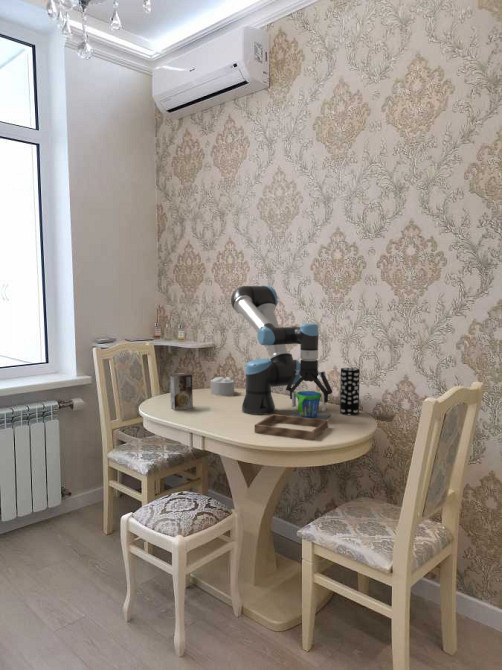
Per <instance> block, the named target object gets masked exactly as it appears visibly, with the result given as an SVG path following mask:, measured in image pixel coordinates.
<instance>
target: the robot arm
mask: <svg viewBox="0 0 502 670" xmlns="http://www.w3.org/2000/svg"><path fill="white" fill-rule="evenodd" d="M278 299H279V298H278V294H277V291H276V290H275V288H274V287H273V286H270V285H269V286H268V285H241V286H240V287H237V288H236V289H235V290H234V291H233V292H232V294H231V297H230V304H231V307H232V308H233V309H234V311H235V312H236V313H238V314H240V315H242V317H243V318H244V319H245V320H246V321H247V322H248V323H249V325H250V326H251V327H252V328H253V329H254V330H255V332H256V333H257V340H258V343H259V344H260V345H261V346H266V347H267V351H268V354H269V358H258V359H257V358H256V359H252V360H250V361H248V362H247V363H246V364H245V372H244V373H245V395H244V399H243V402H242V405H241V411H242V412H243V413H245V414H249V415H266V414H267V415H268V414H272V413H274V412H275V411H276V406H275V405H276V404H275V402H274V399H273V395H272V388H274V387H285V386H286V387H285V390H286V391H288V392H289V398H290V400H291V408H295V407H296V405H297V404H296V402H297V401H296V400H297V397H296V394H297V392H296V391H295V390H296V389H297V388H298V387H299V386H300V385H301V384H302V382H303V381H304V382H314V384H315V385H316V386H317V388H318V389H319V390H320V392H322V394H321V397H322V399H321V404H322V405H321V411H325V410H326V405H327V403H328V401H329V395H331V394H332V393H333V389H332V388H331V386H330V383H329V381H328V378H327V377H326V371H319V360H318V359H319V333H320V332H319V325H318V324H317V323H311V322H310V323H302V324H301V325H300V326H296V325H292V326H285V327H283V326H282V327H280V326H279V321H278V319H277V317H276V316H277V315H276V313H275V311H276V309H277V306H278V302H279V301H278ZM286 345H300V359H301V360H300V361H298V359H294V358H293V357H294V356H293V354H291V353H290V352H288V349H287V347H286ZM318 376H319V377H320V378H321V381H322V382H321V381H320V379H319V377H318ZM322 383H323V384H324V385H323V384H322Z"/></svg>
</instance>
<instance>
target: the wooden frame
mask: <svg viewBox="0 0 502 670" xmlns="http://www.w3.org/2000/svg"><path fill="white" fill-rule="evenodd" d="M273 423H281V424H288V425H289V424H290V425H296V426H298V425H299V426H307V427H312V428H313V427H315V428H314V429H313V430H306V429H295V428H290V427H280V426H272V424H273ZM328 428H329V419H326V420H321V419H312V418H303V417H294V416H291V415H283V414H275V413H274V414H272V413H271V415H268V416H267V417H265V418H264V419H262V420H261V421H258V423H255V424H254V433H255V434H263V435H270V436H279V437H285V438H286V437H287V438H294V439H302V440H311V441H315V439H317V438H318V437H319V436H321V434H322V433H324V432H325V431H326V430H327V429H328Z"/></svg>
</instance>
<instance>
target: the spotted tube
mask: <svg viewBox="0 0 502 670" xmlns="http://www.w3.org/2000/svg"><path fill="white" fill-rule="evenodd" d="M360 373H361V370H360V368H357V367H342V368H340V384H339V385H340V389H339V390H340V392H339V394H340V396H339V399H340V400H339V413H340V414H341V415H343V416H356V415H359V414H360V379H361V378H360Z"/></svg>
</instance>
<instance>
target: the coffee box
mask: <svg viewBox="0 0 502 670" xmlns="http://www.w3.org/2000/svg"><path fill="white" fill-rule="evenodd" d="M169 379H170V380H169V381H170V383H169V384H170V387H169V388H170V408H171V409H172V408H173V409H172V410H173V411H178V410H179V409H181V410H186V409H187V410H188V409H194V405H193V402H194V401H193V395H194V394H193V374H191V373H190V372H178V373H169Z"/></svg>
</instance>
